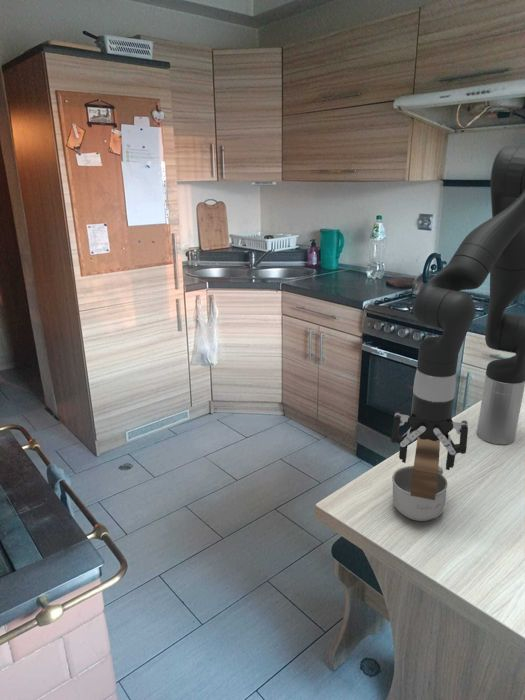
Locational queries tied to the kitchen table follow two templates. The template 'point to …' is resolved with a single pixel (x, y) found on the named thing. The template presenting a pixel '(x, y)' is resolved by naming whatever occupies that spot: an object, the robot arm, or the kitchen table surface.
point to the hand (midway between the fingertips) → (425, 464)
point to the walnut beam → (425, 469)
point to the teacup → (415, 505)
